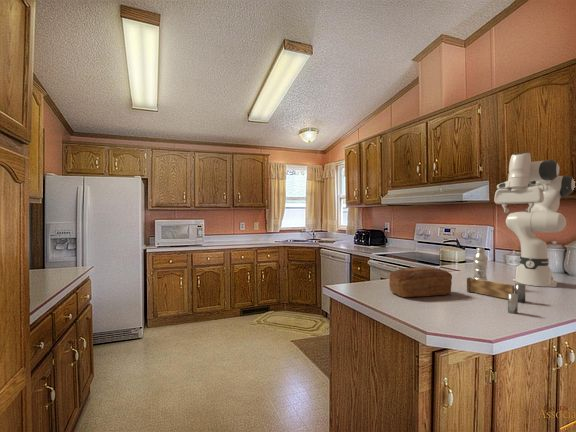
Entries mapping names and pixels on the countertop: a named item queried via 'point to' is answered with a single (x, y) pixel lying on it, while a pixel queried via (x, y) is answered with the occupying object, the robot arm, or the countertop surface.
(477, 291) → the gate
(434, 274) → the bread
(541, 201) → the robot arm
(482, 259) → the plastic bottle
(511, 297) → the stop post
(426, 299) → the countertop surface
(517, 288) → the pivot post
